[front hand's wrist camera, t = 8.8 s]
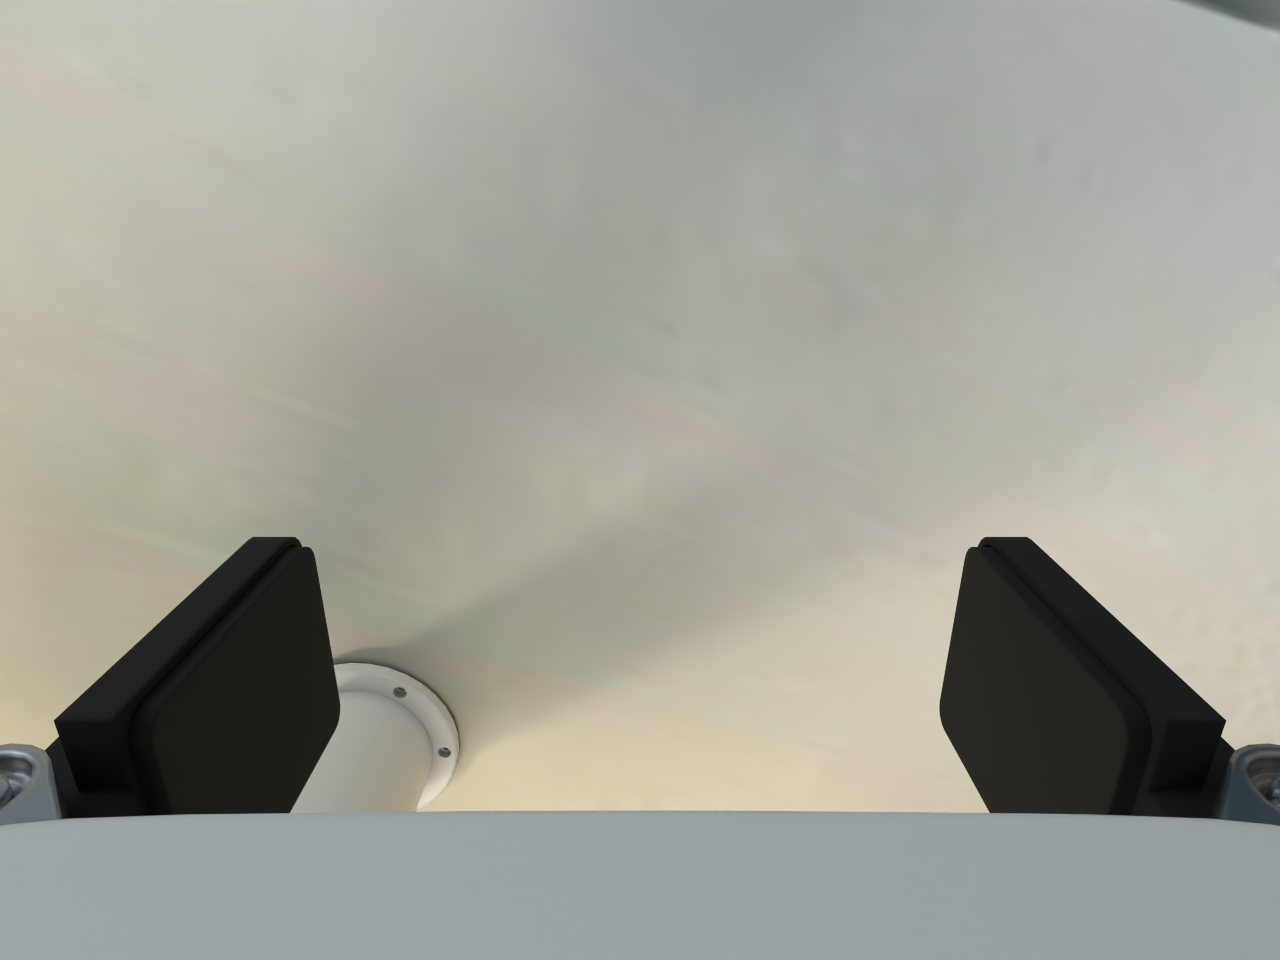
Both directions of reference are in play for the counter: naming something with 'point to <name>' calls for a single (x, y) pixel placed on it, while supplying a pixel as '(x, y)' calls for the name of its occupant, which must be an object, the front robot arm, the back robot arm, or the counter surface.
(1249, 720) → the counter surface
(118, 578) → the counter surface
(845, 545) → the counter surface
